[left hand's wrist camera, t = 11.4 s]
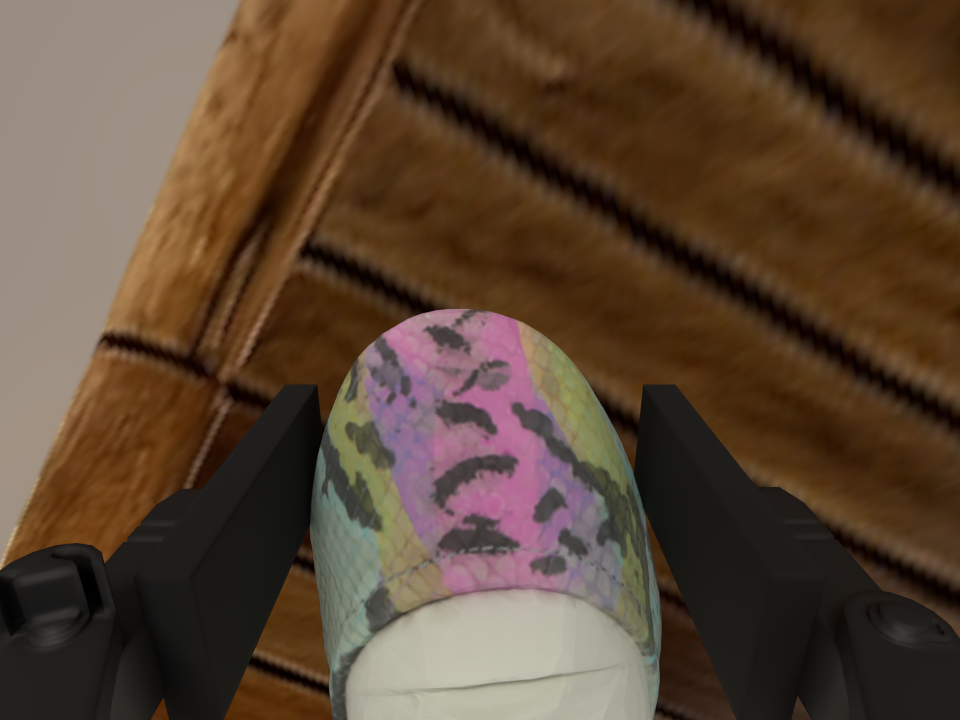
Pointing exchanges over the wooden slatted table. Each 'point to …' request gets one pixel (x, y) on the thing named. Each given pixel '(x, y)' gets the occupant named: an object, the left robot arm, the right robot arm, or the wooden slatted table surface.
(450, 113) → the wooden slatted table surface
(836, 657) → the left robot arm
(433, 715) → the ballet flat
